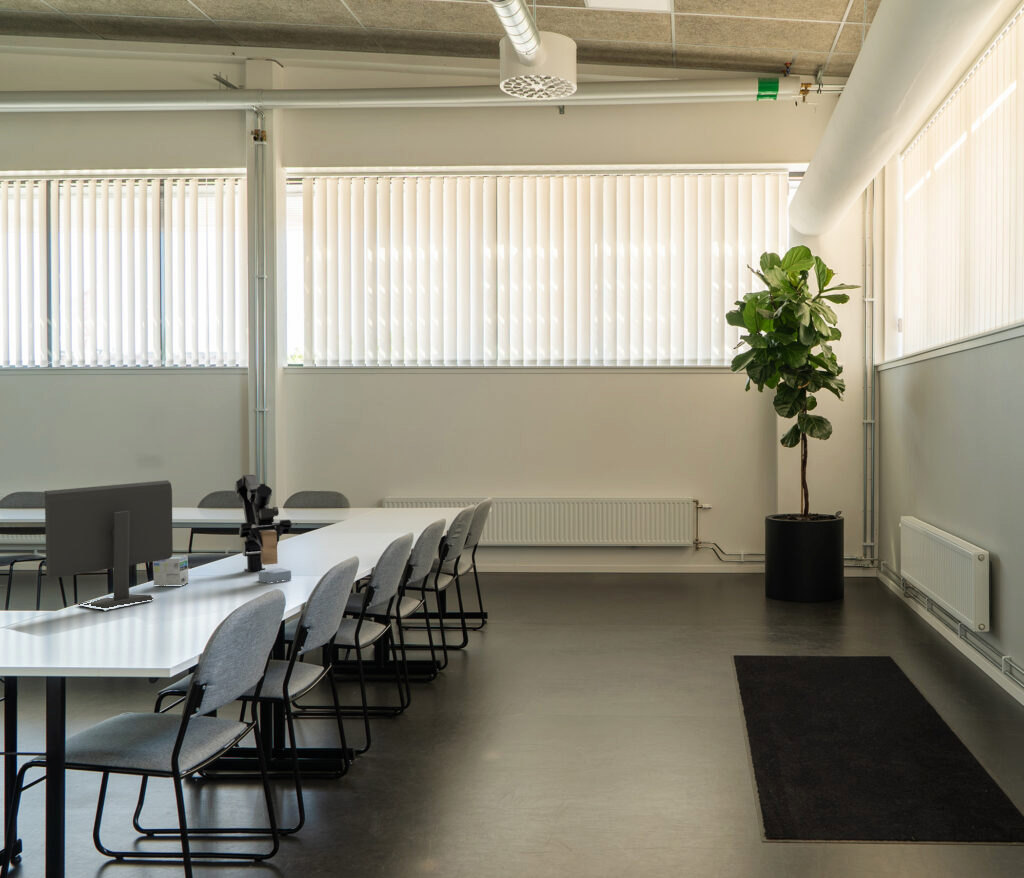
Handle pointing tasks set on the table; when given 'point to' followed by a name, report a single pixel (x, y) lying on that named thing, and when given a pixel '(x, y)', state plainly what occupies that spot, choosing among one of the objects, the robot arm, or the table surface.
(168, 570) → the light bulb box
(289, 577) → the slate-blue block
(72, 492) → the computer monitor
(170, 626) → the table surface
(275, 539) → the walnut pillar
